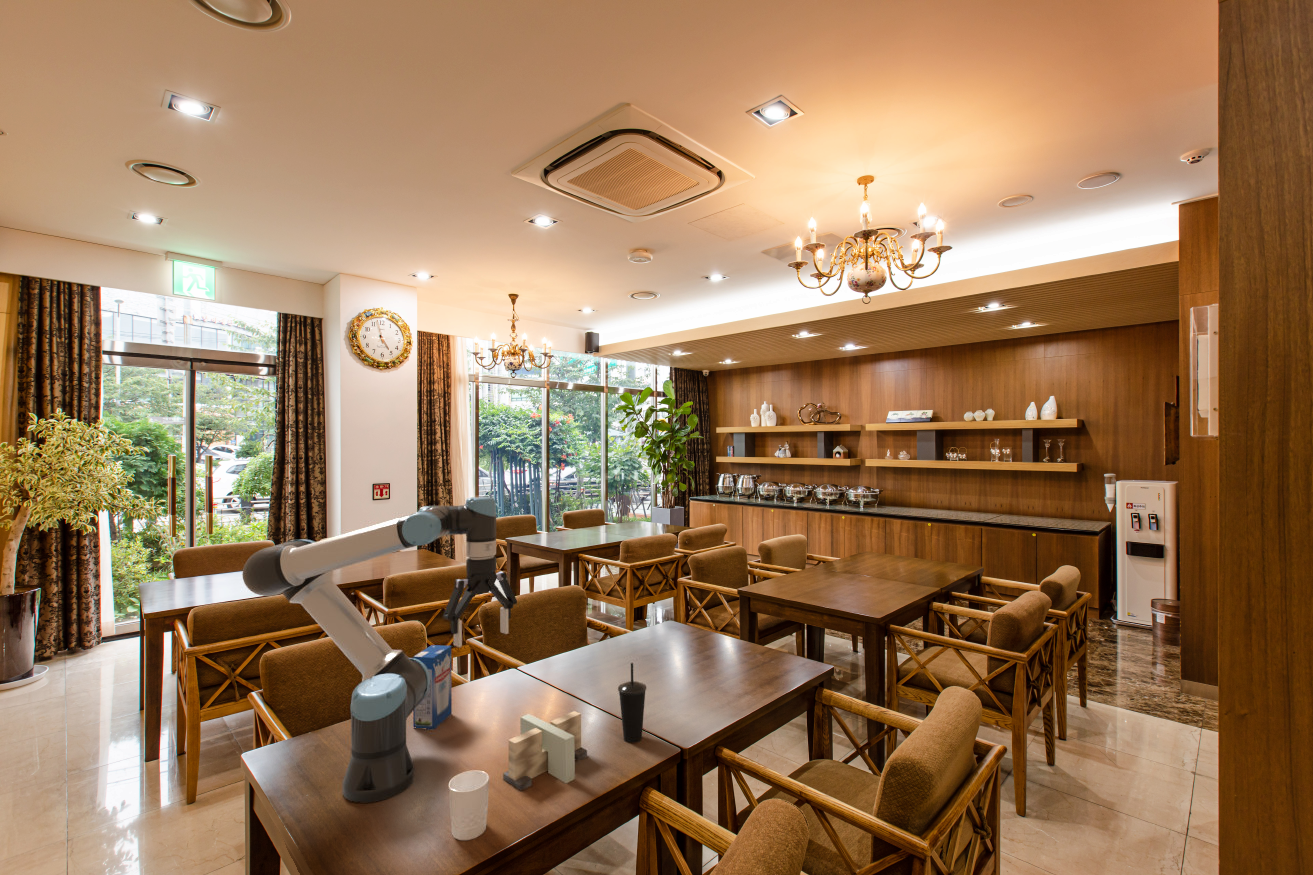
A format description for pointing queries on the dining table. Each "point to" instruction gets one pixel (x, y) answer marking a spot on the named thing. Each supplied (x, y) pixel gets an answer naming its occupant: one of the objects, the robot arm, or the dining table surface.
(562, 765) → the sage board
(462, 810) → the white cup
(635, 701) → the drinking cup
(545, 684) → the dining table surface
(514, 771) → the maple board
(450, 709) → the milk carton
